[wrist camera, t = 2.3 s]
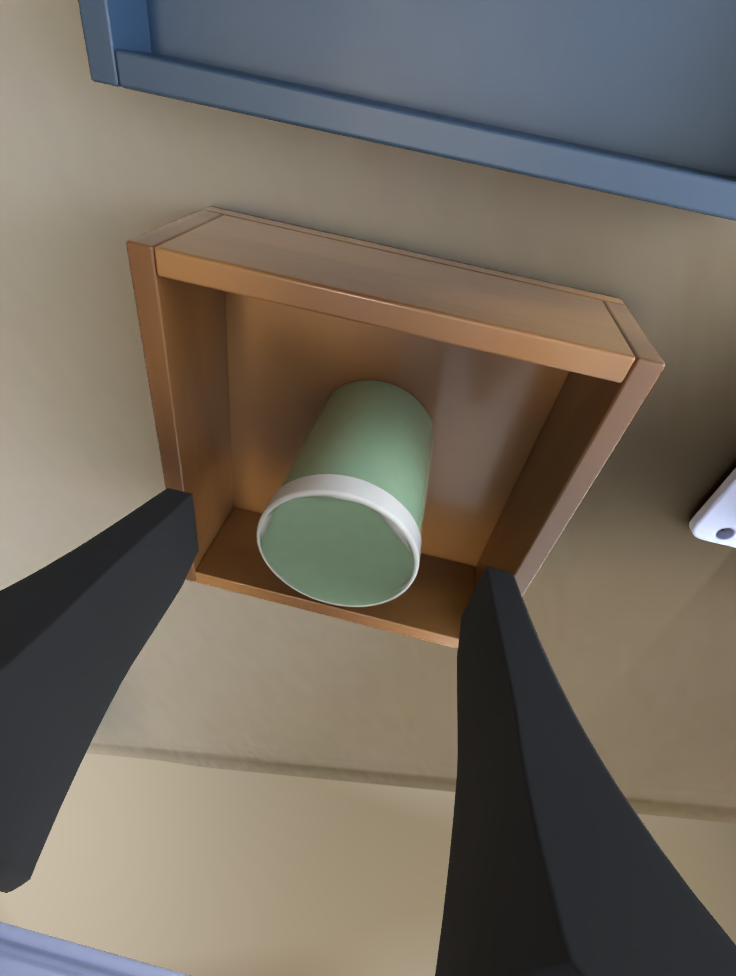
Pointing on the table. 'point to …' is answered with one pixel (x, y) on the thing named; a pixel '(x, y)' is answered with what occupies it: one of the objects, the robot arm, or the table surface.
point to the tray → (461, 80)
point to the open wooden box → (388, 358)
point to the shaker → (353, 498)
